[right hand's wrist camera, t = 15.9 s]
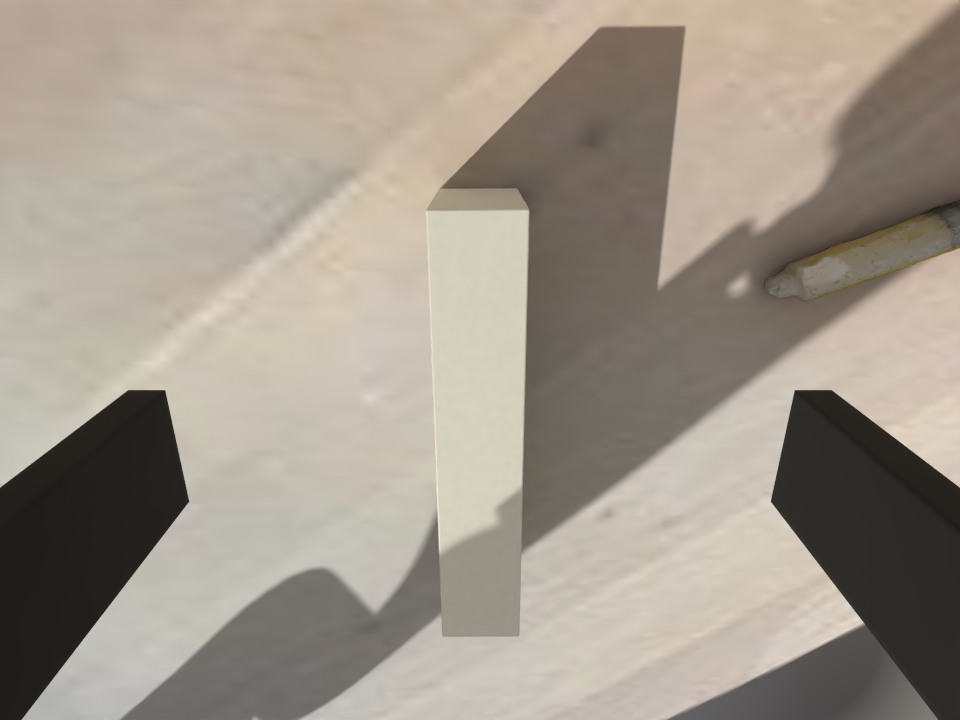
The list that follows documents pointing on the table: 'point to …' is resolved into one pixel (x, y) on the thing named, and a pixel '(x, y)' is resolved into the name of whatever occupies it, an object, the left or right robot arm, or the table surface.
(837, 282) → the syringe
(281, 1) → the table surface
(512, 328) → the bar
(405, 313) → the table surface
